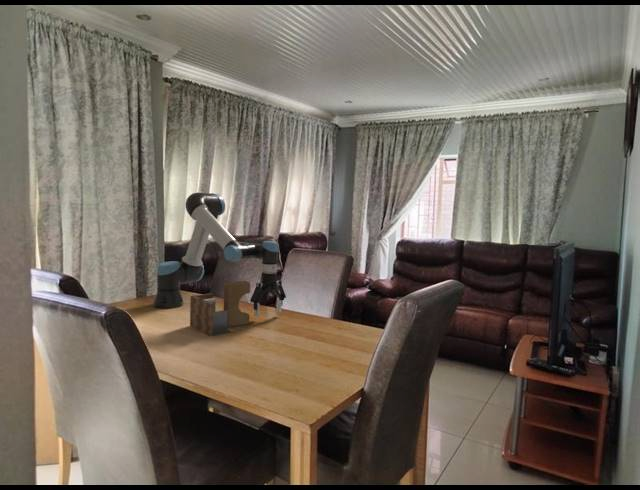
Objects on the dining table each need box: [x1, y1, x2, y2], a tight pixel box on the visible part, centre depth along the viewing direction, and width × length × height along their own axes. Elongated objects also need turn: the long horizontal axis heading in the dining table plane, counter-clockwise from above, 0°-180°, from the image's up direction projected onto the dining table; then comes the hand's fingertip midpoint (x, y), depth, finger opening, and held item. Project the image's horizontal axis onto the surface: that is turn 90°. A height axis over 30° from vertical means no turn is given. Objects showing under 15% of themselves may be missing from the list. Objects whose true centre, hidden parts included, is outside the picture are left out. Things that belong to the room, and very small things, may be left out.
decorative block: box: [223, 280, 251, 328], centre depth 193 cm, size 11×6×20 cm, turn 122°
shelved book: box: [203, 297, 216, 312], centre depth 190 cm, size 3×8×12 cm, turn 133°
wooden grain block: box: [189, 292, 214, 337], centre depth 185 cm, size 18×10×14 cm, turn 43°
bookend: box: [212, 309, 232, 337], centre depth 180 cm, size 5×9×9 cm, turn 133°
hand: (268, 314), depth 207 cm, fingers open, 13 cm apart
